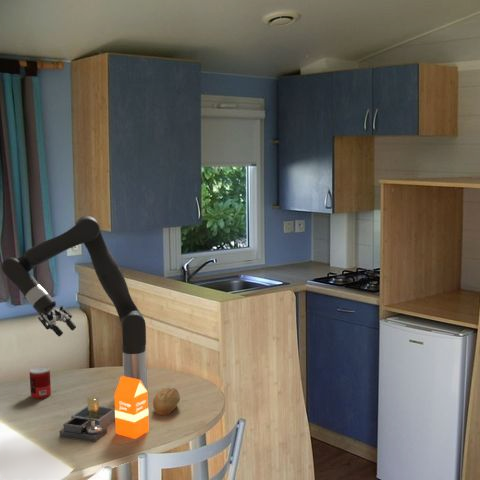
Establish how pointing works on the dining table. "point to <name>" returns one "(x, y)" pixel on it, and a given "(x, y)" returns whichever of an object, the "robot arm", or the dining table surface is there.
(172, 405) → the bread roll
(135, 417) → the orange juice
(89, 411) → the cylinder
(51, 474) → the dining table surface
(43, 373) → the canned food
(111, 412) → the tray
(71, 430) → the crank housing
